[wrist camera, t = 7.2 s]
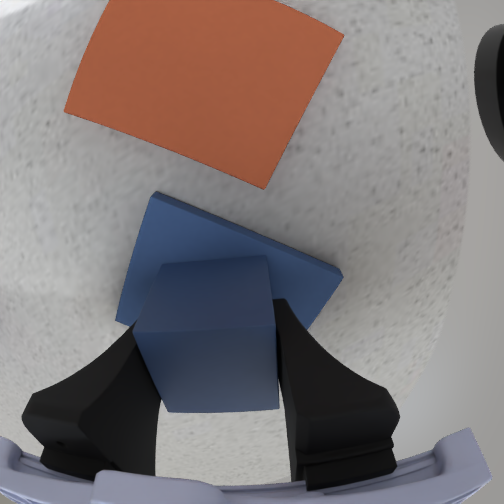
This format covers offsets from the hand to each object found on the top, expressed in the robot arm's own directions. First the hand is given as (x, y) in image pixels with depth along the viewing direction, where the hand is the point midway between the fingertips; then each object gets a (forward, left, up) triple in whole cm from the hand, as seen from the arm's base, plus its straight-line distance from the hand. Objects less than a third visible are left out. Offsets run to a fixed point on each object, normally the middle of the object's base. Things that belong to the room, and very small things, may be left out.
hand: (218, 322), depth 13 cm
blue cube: (0, 0, -1) cm, 1 cm away
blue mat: (0, 0, -2) cm, 2 cm away
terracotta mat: (+5, -9, -2) cm, 11 cm away
